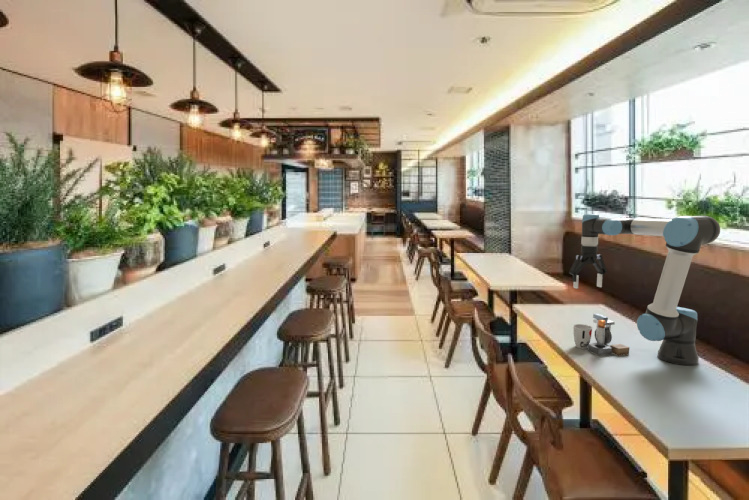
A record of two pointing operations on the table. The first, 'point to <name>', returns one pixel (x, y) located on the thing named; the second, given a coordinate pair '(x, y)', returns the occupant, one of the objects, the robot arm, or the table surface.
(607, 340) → the caster wheel
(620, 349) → the block
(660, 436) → the table surface
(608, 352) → the grey square socket base
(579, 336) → the cup
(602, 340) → the pin
